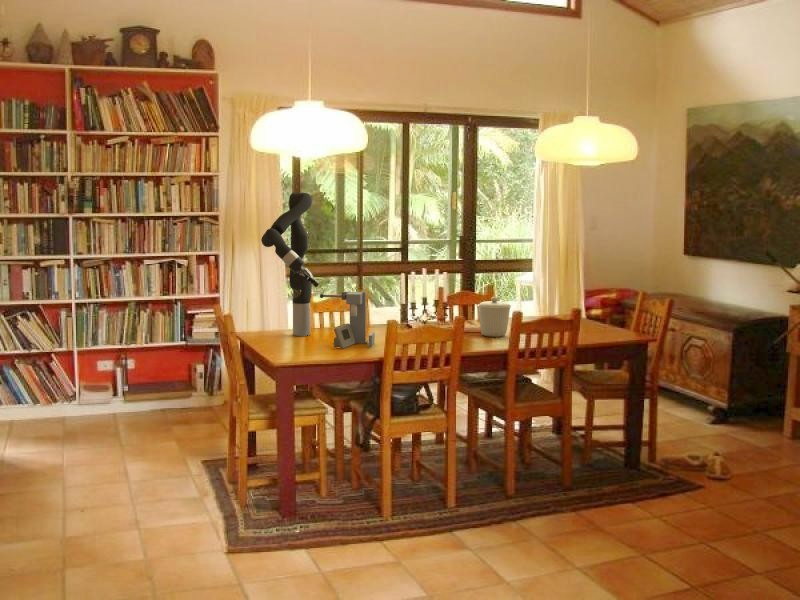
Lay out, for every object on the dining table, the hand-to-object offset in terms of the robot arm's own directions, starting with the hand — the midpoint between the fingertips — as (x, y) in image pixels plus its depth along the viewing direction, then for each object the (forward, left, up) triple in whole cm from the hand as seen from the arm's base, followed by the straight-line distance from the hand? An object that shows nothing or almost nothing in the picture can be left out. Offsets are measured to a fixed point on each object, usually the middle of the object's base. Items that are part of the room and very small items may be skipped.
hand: (317, 285), depth 433 cm
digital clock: (+8, +15, -29) cm, 34 cm away
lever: (-1, +8, -6) cm, 10 cm away
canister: (-35, +89, -29) cm, 100 cm away
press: (+3, +20, -29) cm, 36 cm away
